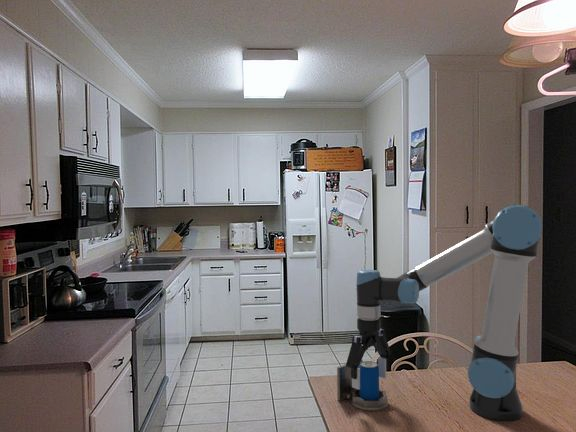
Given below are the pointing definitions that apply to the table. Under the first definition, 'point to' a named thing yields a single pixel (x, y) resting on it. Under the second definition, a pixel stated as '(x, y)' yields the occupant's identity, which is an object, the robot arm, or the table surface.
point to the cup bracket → (357, 392)
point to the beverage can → (369, 380)
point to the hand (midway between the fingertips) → (369, 382)
